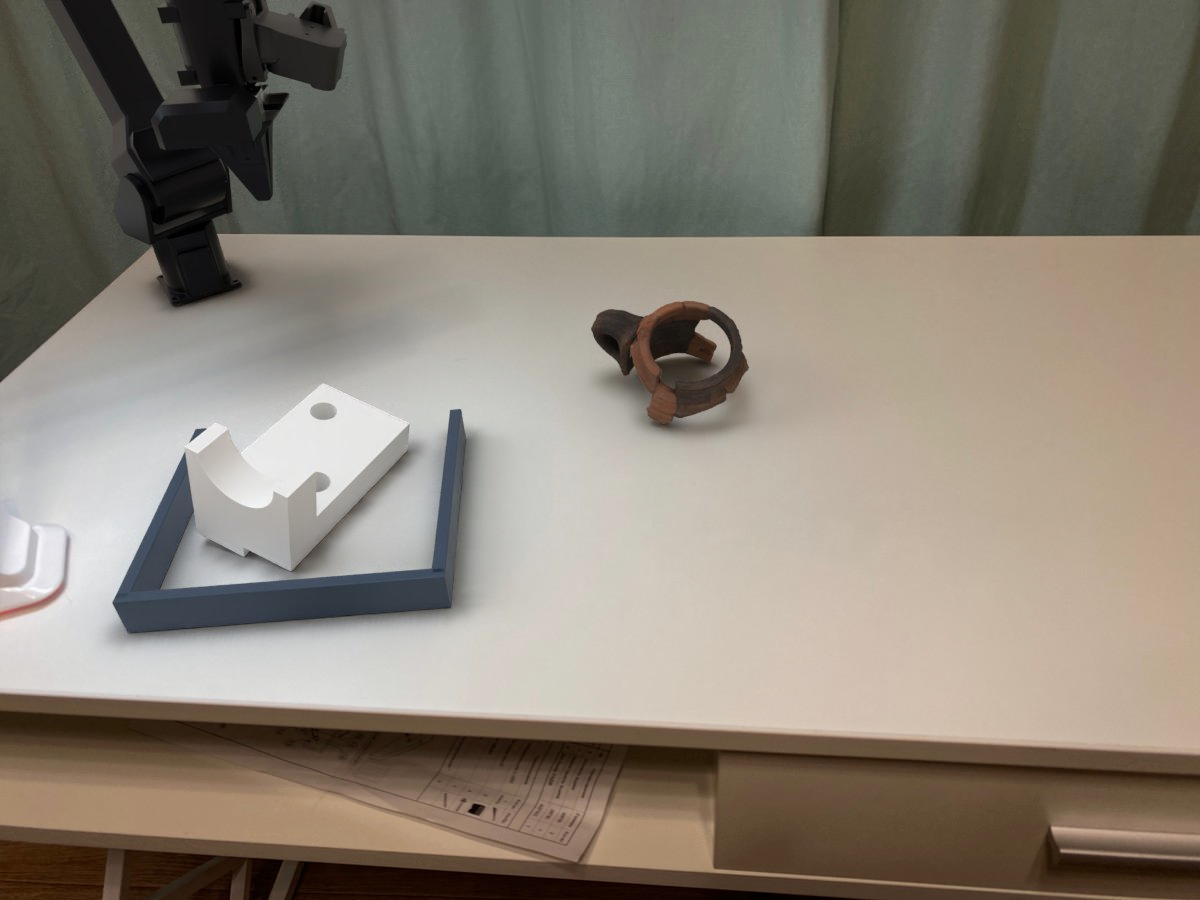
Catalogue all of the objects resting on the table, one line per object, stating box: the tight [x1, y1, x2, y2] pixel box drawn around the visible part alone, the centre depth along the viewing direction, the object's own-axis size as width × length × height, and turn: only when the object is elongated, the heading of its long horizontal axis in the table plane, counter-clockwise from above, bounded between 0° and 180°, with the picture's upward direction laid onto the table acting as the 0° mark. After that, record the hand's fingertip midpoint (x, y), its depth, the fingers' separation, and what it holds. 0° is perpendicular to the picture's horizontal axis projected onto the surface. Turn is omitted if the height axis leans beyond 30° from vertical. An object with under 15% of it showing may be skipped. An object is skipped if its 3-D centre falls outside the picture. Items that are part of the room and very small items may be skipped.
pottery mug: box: [590, 300, 750, 426], centre depth 70 cm, size 12×10×8 cm
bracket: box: [183, 382, 410, 572], centre depth 61 cm, size 13×7×8 cm, turn 156°
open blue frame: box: [111, 408, 467, 634], centre depth 60 cm, size 17×19×2 cm
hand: (265, 199), depth 74 cm, fingers closed
